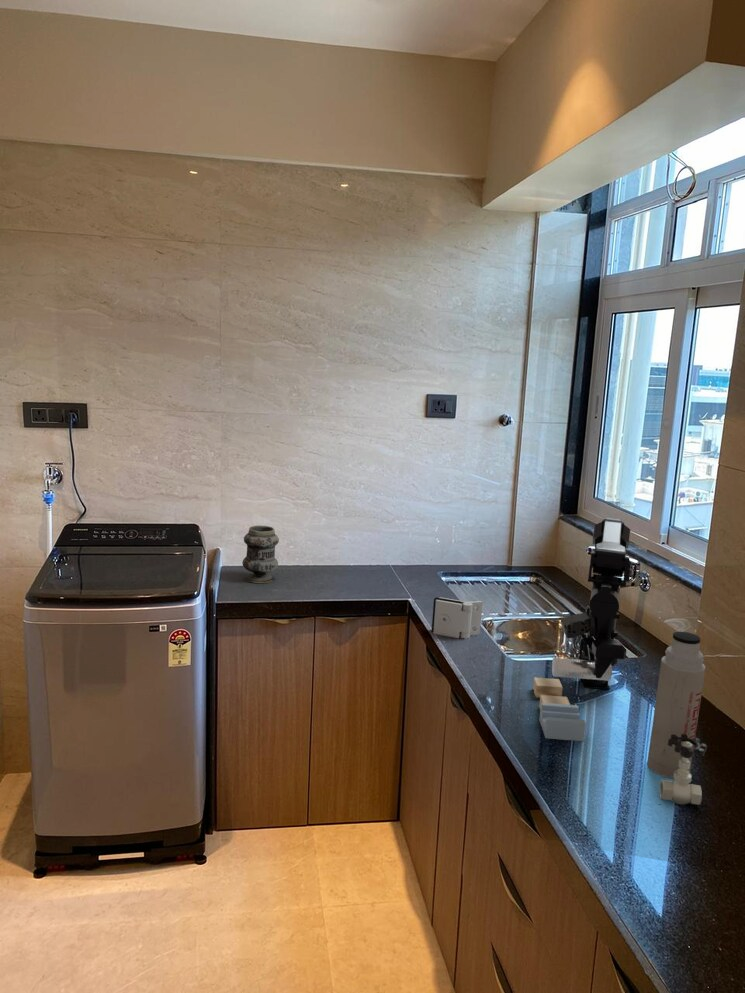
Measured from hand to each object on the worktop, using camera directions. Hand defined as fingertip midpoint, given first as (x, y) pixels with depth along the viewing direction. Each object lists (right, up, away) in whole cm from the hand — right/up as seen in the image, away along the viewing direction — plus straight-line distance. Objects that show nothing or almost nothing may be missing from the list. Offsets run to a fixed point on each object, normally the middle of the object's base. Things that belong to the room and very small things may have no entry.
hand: (595, 673), depth 163 cm
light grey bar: (-3, -1, 0) cm, 3 cm away
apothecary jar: (-87, +10, +92) cm, 127 cm away
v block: (-8, -12, -1) cm, 14 cm away
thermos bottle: (+10, -16, -14) cm, 23 cm away
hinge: (-25, -1, +52) cm, 57 cm away
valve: (+8, -18, -26) cm, 32 cm away
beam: (-7, -10, +11) cm, 17 cm away
